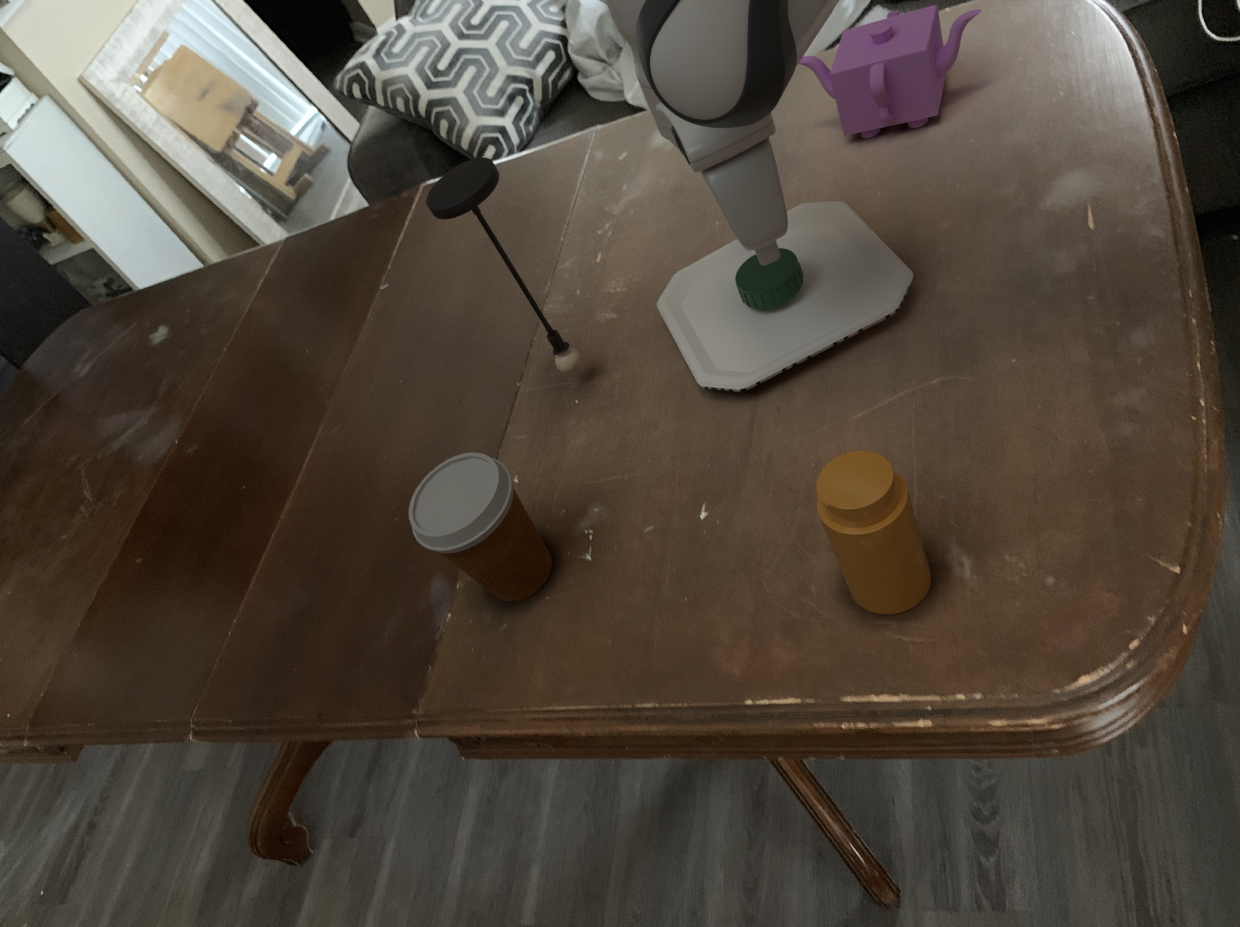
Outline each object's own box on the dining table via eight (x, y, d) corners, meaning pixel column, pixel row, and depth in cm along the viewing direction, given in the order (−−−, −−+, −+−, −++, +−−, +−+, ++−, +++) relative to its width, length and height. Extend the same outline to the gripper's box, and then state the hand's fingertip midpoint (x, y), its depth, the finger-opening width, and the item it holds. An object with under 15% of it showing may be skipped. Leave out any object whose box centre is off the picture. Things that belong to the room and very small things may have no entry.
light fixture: (545, 384, 96) (418, 192, 79) (597, 349, 95) (481, 148, 78) (565, 417, 91) (436, 220, 74) (621, 381, 91) (503, 173, 73)
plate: (935, 309, 77) (931, 289, 76) (716, 420, 81) (708, 404, 80) (835, 203, 91) (830, 185, 90) (653, 303, 96) (646, 287, 94)
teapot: (997, 51, 94) (987, -43, 87) (985, 128, 88) (973, 33, 81) (825, 94, 104) (804, 13, 97) (803, 165, 98) (779, 84, 91)
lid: (739, 316, 85) (732, 298, 83) (744, 275, 88) (737, 257, 86) (802, 302, 82) (796, 283, 80) (805, 260, 85) (799, 240, 83)
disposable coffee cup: (486, 635, 79) (411, 561, 70) (467, 560, 85) (397, 484, 77) (580, 585, 77) (515, 503, 69) (553, 512, 84) (491, 429, 76)
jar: (894, 535, 66) (861, 430, 58) (949, 581, 62) (922, 475, 54) (832, 580, 66) (791, 482, 58) (884, 629, 62) (847, 531, 54)
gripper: (645, 56, 77) (698, 189, 87) (691, 167, 63) (748, 310, 73) (714, 18, 75) (761, 158, 85) (777, 123, 62) (824, 277, 71)
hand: (755, 229), depth 79 cm, fingers open, 8 cm apart
